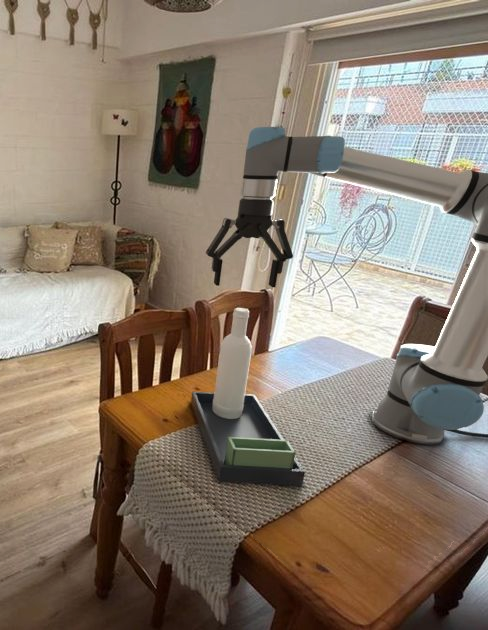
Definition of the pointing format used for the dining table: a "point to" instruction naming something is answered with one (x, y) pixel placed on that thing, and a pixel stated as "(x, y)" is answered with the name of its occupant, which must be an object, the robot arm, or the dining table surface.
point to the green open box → (259, 453)
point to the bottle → (233, 368)
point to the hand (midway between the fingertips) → (244, 285)
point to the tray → (246, 426)
